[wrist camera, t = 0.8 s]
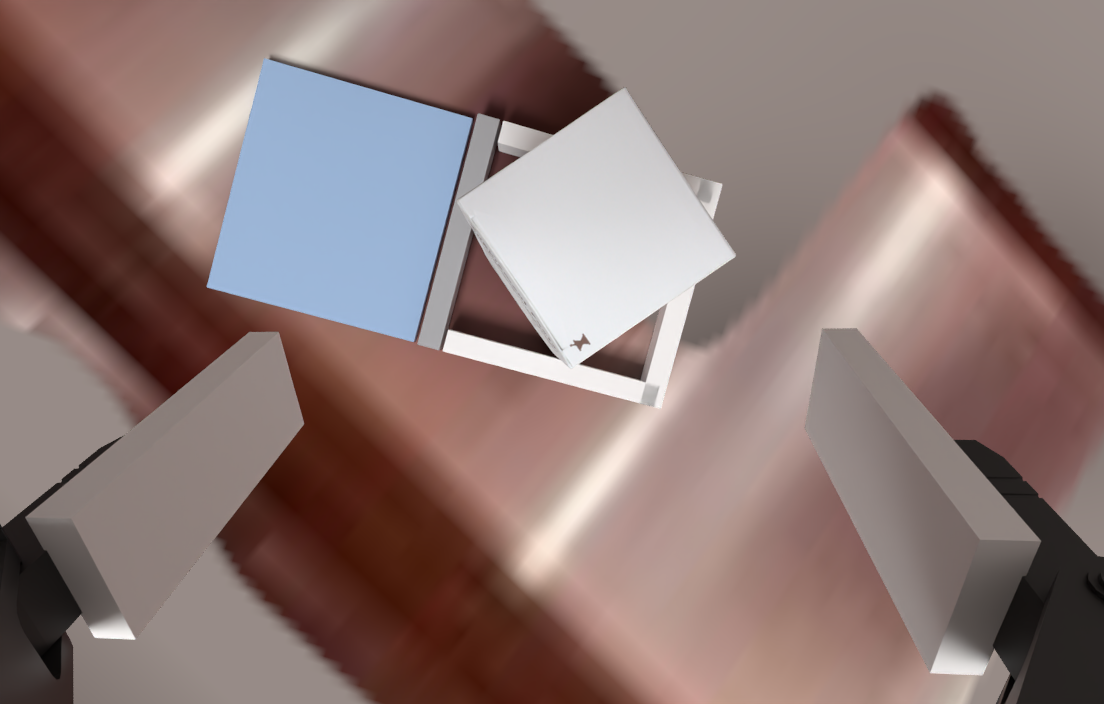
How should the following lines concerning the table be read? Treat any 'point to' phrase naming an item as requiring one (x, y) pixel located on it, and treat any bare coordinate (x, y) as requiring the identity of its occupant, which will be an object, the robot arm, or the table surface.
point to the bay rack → (386, 221)
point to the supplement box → (594, 229)
